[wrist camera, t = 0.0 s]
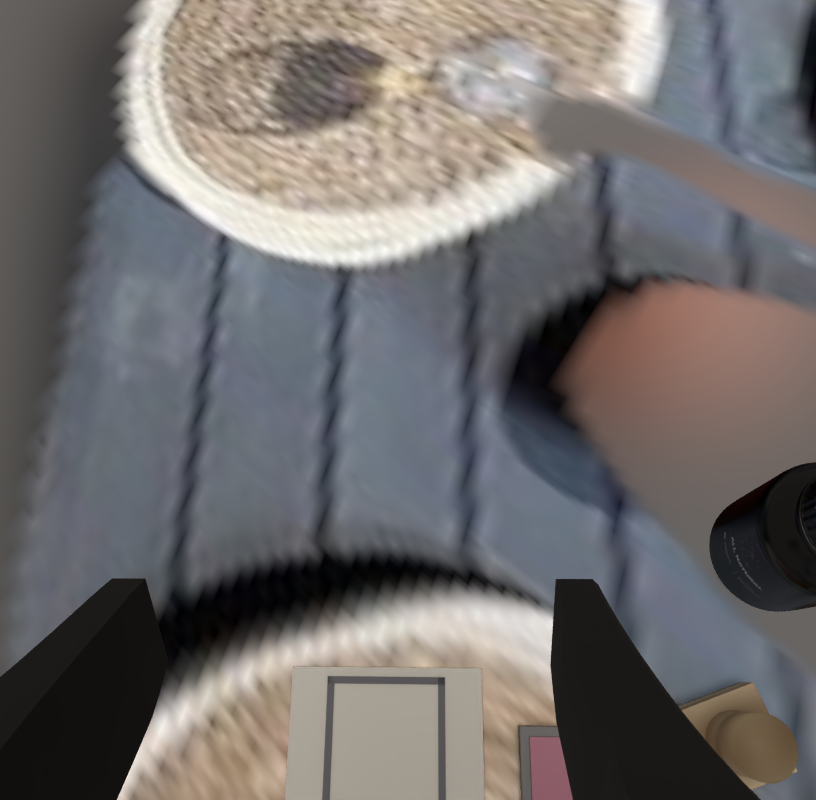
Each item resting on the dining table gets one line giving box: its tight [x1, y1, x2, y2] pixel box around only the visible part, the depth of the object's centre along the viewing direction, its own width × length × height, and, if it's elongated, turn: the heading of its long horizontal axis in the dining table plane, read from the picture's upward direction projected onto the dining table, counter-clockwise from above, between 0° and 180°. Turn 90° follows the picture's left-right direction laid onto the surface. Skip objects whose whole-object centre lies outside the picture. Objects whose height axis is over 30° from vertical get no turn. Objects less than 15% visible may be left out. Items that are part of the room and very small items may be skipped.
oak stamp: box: [679, 682, 798, 790], centre depth 38 cm, size 4×4×6 cm
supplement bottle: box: [710, 462, 816, 611], centre depth 38 cm, size 7×7×12 cm
